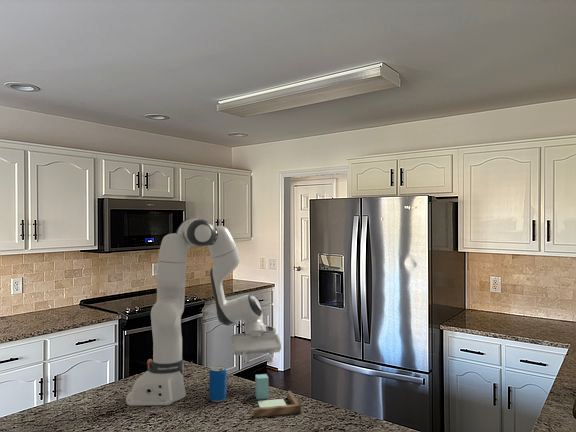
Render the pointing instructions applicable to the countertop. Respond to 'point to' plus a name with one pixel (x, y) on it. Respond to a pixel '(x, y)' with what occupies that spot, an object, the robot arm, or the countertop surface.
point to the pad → (271, 403)
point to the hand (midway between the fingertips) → (259, 362)
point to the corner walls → (279, 408)
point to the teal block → (262, 386)
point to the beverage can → (217, 384)
